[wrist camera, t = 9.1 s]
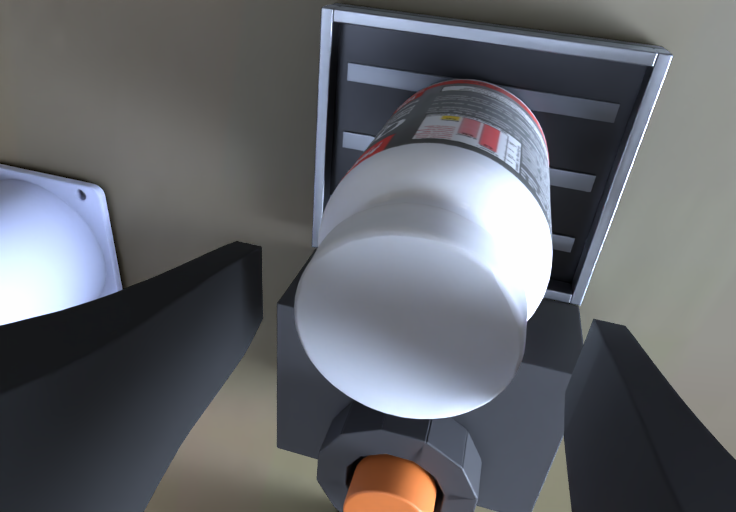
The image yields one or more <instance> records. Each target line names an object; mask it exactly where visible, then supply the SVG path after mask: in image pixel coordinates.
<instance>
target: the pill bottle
mask: <svg viewBox="0 0 736 512" xmlns="http://www.w3.org/2000/svg"><path fill="white" fill-rule="evenodd" d="M552 253H553V245H552V225H551V206H550V179H549V155H548V149H547V144H546V140H545V137H544V134H543V131H542V129H541V126H540V124H539V122H538V121H537V119H536V117H535V116H534V114H533V113H532V112H531V110H530V109H529V108H528V107H527V106H526V105H525V104H524V103H523V102H522V101H521V100H520V99H519V98H517V97H516V96H515V95H513V94H512V93H510V92H509V91H507V90H505V89H503V88H501V87H499V86H497V85H494V84H491V83H488V82H485V81H480V80H473V79H453V80H447V81H442V82H439V83H436V84H433V85H430V86H428V87H426V88H424V89H422V90H420V91H418V92H417V93H415V94H414V95H413V96H411V97H410V98H409V99H407V100H406V101H405V102H404V103H403V104H402V105H401V106H400V107H399V108H398V109H397V110H396V111H395V112H394V113H393V115H392V116H391V117H390V119H389V120H388V121H387V123H386V124H385V125H384V127H383V128H382V129H381V131H380V132H379V133H378V134H377V136H376V137H375V138H374V140H373V141H372V142H371V143H370V145H369V146H368V147H367V148H366V150H365V151H364V152H363V154H362V155H361V156H360V158H359V159H358V160H357V161H356V163H355V164H354V165H353V166H352V168H351V169H350V170H349V171H348V172H347V174H346V175H345V176H344V178H343V179H342V180H341V181H340V183H339V184H338V186H337V187H336V189H335V191H334V192H333V194H332V196H331V197H330V199H329V201H328V203H327V205H326V208H325V210H324V213H323V216H322V220H321V224H320V229H319V236H318V249H317V250H316V252H315V254H314V256H313V258H312V259H311V261H310V262H309V264H308V265H307V267H306V268H305V270H304V272H303V274H302V276H301V278H300V281H299V283H298V287H297V290H296V295H295V303H294V316H295V325H296V329H297V332H298V335H299V338H300V341H301V343H302V345H303V348H304V350H305V352H306V354H307V355H308V357H309V359H310V360H311V362H312V363H313V364H314V365H315V367H316V368H317V369H318V370H319V372H320V373H321V374H322V375H323V376H324V377H325V378H326V379H327V380H328V381H329V382H330V383H331V384H332V385H334V386H335V387H336V388H338V389H339V390H340V391H342V392H343V393H344V394H346V395H347V396H349V397H351V398H352V399H354V400H356V401H358V402H360V403H361V404H363V405H365V406H368V407H370V408H372V409H375V410H378V411H381V412H383V413H387V414H391V415H395V416H400V417H405V418H416V419H436V418H446V417H452V416H456V415H460V414H463V413H466V412H469V411H471V410H474V409H476V408H478V407H480V406H482V405H484V404H486V403H487V402H489V401H491V400H492V399H493V398H495V397H496V396H497V395H498V394H500V393H501V392H502V391H503V390H504V389H505V388H506V387H507V386H508V384H509V383H510V382H511V380H512V379H513V378H514V376H515V375H516V373H517V371H518V369H519V366H520V364H521V362H522V358H523V355H524V351H525V343H526V329H527V321H528V319H529V318H530V317H531V316H532V315H533V313H534V312H535V310H536V309H537V307H538V305H539V304H540V302H541V300H542V298H543V296H544V294H545V291H546V288H547V285H548V282H549V278H550V272H551V264H552Z"/></svg>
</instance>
